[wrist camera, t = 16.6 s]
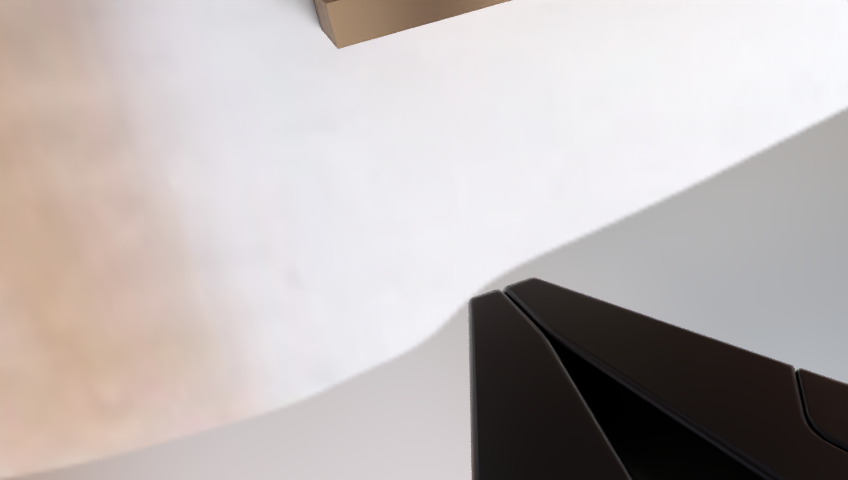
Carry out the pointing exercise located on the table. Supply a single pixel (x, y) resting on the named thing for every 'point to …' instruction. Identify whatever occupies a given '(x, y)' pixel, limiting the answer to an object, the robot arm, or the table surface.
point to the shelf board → (385, 16)
